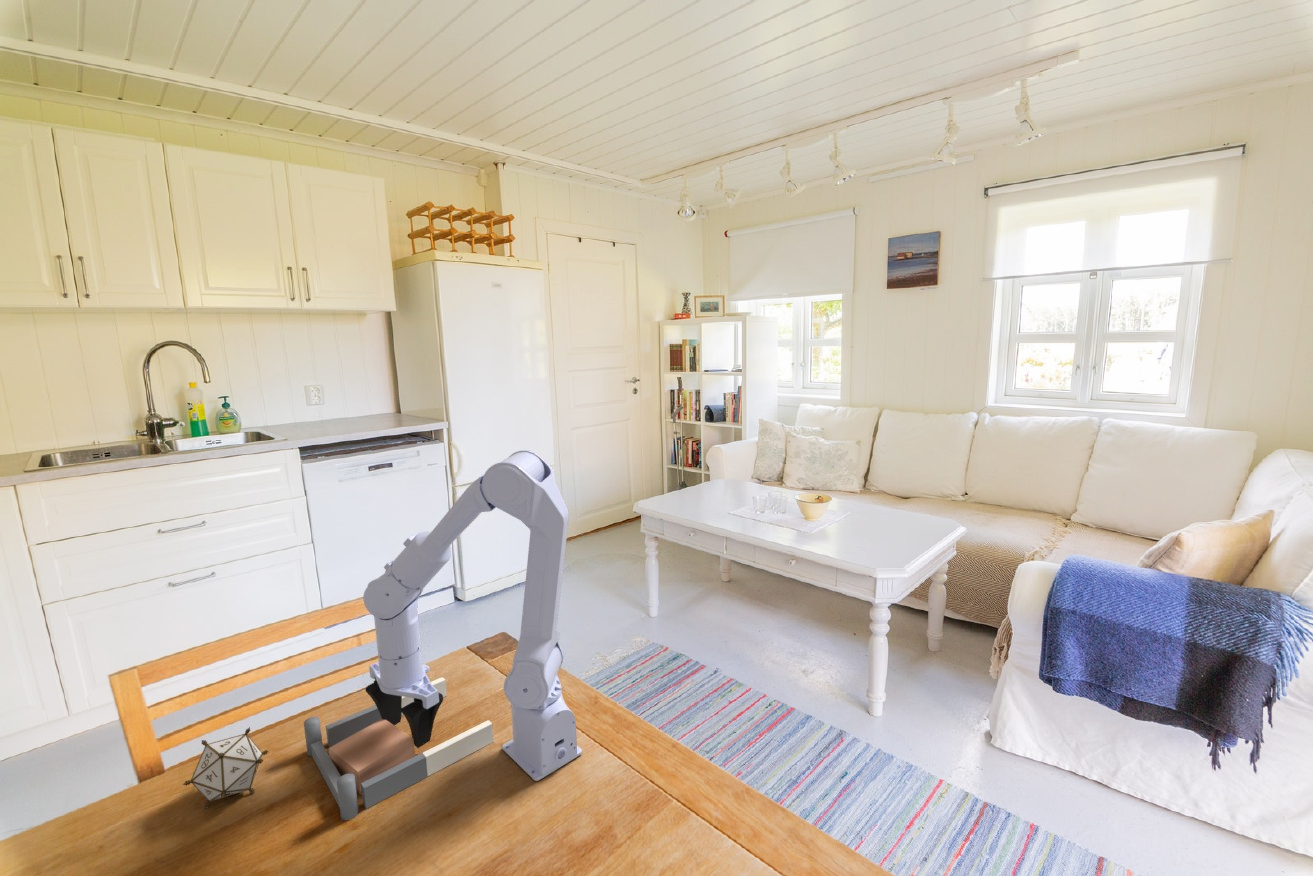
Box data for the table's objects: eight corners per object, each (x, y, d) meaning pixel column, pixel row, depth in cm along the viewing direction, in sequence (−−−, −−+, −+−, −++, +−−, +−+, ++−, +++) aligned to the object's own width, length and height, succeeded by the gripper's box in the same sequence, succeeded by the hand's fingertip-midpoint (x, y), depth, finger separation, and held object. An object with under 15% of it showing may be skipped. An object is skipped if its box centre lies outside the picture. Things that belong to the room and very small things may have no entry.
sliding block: (415, 760, 83) (413, 738, 82) (360, 795, 77) (358, 771, 76) (385, 738, 88) (383, 718, 87) (331, 770, 81) (328, 748, 81)
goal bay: (428, 778, 79) (426, 745, 78) (343, 823, 72) (339, 787, 71) (382, 718, 92) (379, 690, 91) (305, 751, 85) (302, 721, 84)
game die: (241, 825, 76) (225, 803, 70) (179, 804, 76) (157, 781, 70) (287, 755, 83) (276, 729, 77) (230, 736, 83) (215, 708, 76)
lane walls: (493, 741, 86) (492, 723, 86) (427, 776, 80) (425, 757, 79) (443, 693, 99) (442, 677, 98) (383, 719, 92) (381, 702, 91)
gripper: (454, 651, 83) (460, 736, 85) (396, 625, 91) (404, 703, 93) (409, 675, 77) (418, 765, 79) (352, 645, 85) (361, 727, 88)
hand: (407, 733), depth 86 cm, fingers open, 7 cm apart
